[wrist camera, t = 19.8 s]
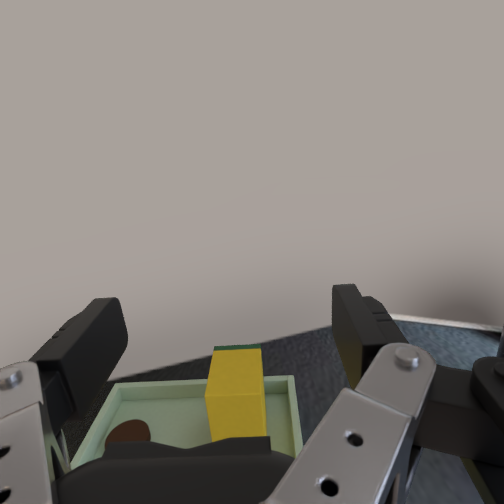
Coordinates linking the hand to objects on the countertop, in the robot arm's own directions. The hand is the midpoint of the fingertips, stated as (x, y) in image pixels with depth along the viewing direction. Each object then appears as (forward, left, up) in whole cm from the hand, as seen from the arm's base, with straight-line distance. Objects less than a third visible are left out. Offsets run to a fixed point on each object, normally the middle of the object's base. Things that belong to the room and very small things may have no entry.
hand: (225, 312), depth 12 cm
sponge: (+2, -14, -23) cm, 27 cm away
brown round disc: (+14, -14, -23) cm, 30 cm away
